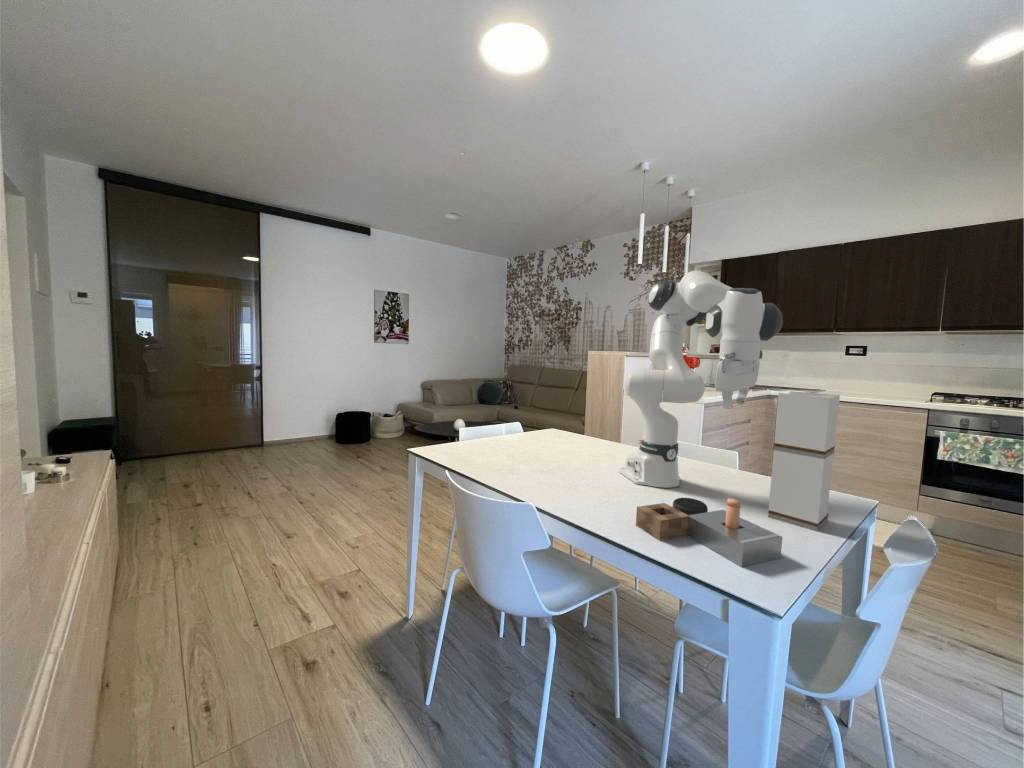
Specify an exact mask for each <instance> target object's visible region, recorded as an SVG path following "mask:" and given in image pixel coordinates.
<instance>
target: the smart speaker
mask: <svg viewBox="0 0 1024 768" xmlns="http://www.w3.org/2000/svg"><path fill="white" fill-rule="evenodd" d="M672 507H673V508H675V509H677V510H679V511H681V512H683V513H685V514H687V515H693V514H699V513H706V512H709V510H708V505H707V504H706V503H705V502H703V501H701V500H698V499H695V498H690V497H678V498H676V499H674V500H673V502H672Z"/></svg>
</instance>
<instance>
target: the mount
mask: <svg viewBox="0 0 1024 768" xmlns="http://www.w3.org/2000/svg"><path fill="white" fill-rule="evenodd" d="M635 516H636V518H635V520H636V521H635V526H637V527H638V528H640V529H641V530H642V531H644V532H645V533H647V534H648V535H650V536H652V537H653V538H654V539H657V540H658V541H665V540H671V539H676V538H681V537H682V538H683V537H688V536H687V529H688V516H687V514H685V513H683V512H681V511H679V510H677V509H675V508H673V506H671V505H670V504H667V503H665V502H662V503H655V504H648V505H639V506H636V515H635Z"/></svg>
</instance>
